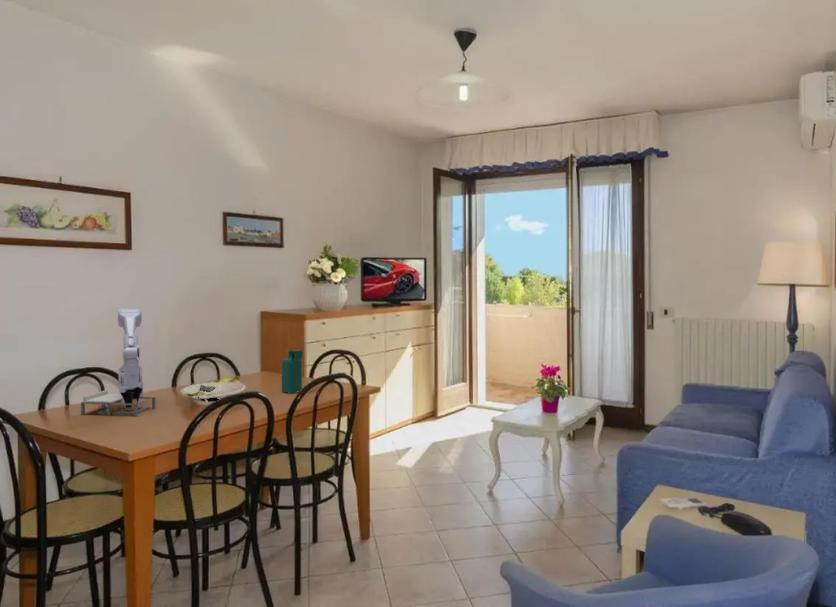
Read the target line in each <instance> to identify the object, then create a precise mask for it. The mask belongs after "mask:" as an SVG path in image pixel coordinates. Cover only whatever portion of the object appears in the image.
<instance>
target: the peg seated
mask: <svg viewBox="0 0 836 607" xmlns="http://www.w3.org/2000/svg"><path fill="white" fill-rule="evenodd" d="M113 403H122V400H119V401H116V402H113ZM122 406H123V405H111V410H112V411H119V410H122Z"/></svg>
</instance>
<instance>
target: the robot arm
mask: <svg viewBox="0 0 836 607" xmlns="http://www.w3.org/2000/svg"><path fill="white" fill-rule="evenodd" d="M142 312H143V311H142V309H141V308H118V309H117V322H118V327H120V328H122V329H123V331H124V336H123V339H122V340H123V349H122V360H123V364H121V365H120V366H119V367H118V384H119V385H121V387H118V388H119V393H120V394H121V395H122V397H123V399H122V400H121V401H122V403H127V404H132V400H133V399H137V404H141V403H143V402H145V401H146V399H144V398H139V397H144V382H143V370H142V368H143V367H142V366H141V365H140V363H139V362H140V361H139V360H140V357H141V351H140V346H139V336H138V335H137V334H136V329H137V328H138V327H141V324H142V319H143V318H142V315H143V314H142ZM125 406H126V407H132V405H125Z"/></svg>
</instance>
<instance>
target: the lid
mask: <svg viewBox="0 0 836 607" xmlns="http://www.w3.org/2000/svg"><path fill="white" fill-rule="evenodd" d="M122 399H123V397H122V395H121V394H118V393H117V394H114V393H111V394H110V393H108V390H106V389H105V390H102V391H98V392H96V393H91V394H88V395H85V396H83V398H82V400H83V401H82V402H96V403H102V402H104V403H113V402H116V401H119V400H121V401H122Z"/></svg>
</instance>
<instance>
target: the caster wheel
mask: <svg viewBox="0 0 836 607" xmlns="http://www.w3.org/2000/svg"><path fill="white" fill-rule="evenodd" d="M215 388H217V387H216V386H213V385H212V386H211V385H210V386H208V385H207V386H206V385H204V384H200V386H199V389H198V392H199V391H203V392H205V391H206V392H211V391H213V390H214V389H215Z"/></svg>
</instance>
